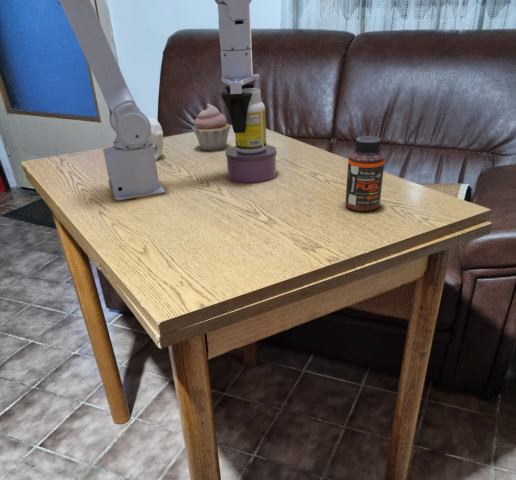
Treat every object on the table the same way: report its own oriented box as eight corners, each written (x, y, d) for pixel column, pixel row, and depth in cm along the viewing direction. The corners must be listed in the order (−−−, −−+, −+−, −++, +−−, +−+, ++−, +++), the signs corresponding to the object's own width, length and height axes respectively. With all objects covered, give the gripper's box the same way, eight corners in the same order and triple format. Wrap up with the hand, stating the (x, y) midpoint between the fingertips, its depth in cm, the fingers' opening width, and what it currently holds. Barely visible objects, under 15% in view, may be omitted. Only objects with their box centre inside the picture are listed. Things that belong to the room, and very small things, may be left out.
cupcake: (194, 144, 130) (190, 100, 124) (231, 141, 130) (228, 98, 124) (193, 154, 122) (188, 108, 116) (232, 151, 122) (229, 106, 116)
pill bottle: (249, 144, 108) (246, 86, 101) (272, 148, 104) (271, 88, 98) (229, 151, 104) (225, 91, 97) (253, 156, 100) (250, 94, 94)
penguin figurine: (161, 118, 114) (108, 130, 112) (170, 157, 119) (119, 169, 117) (155, 113, 119) (104, 125, 117) (164, 150, 124) (115, 162, 122)
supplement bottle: (353, 214, 87) (358, 145, 80) (339, 202, 92) (343, 136, 85) (385, 209, 88) (393, 140, 81) (370, 198, 93) (376, 132, 86)
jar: (236, 186, 101) (234, 160, 99) (220, 172, 109) (218, 147, 107) (285, 178, 104) (284, 152, 101) (266, 165, 112) (265, 141, 109)
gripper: (257, 52, 88) (260, 136, 95) (258, 43, 99) (261, 118, 107) (215, 54, 88) (222, 137, 96) (222, 45, 100) (227, 120, 108)
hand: (240, 127), depth 101 cm, fingers open, 7 cm apart
